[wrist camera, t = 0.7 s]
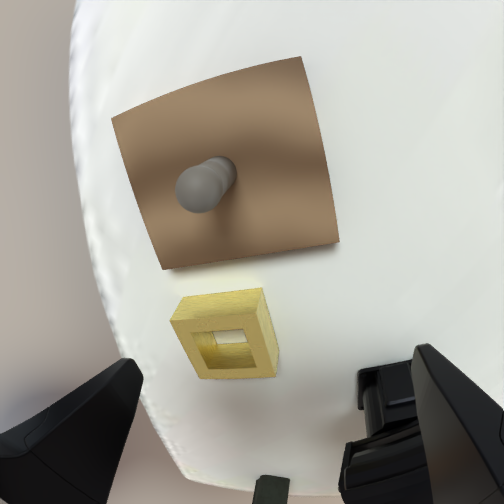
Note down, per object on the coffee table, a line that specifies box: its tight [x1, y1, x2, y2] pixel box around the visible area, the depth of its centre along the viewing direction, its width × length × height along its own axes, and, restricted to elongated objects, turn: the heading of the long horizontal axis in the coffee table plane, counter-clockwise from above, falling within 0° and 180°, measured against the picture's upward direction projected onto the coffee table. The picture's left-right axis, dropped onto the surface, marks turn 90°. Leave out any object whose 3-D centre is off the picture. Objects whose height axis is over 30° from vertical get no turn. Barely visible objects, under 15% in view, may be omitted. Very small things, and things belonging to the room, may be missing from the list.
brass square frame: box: [170, 288, 279, 379], centre depth 22 cm, size 6×6×3 cm
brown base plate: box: [111, 56, 340, 270], centre depth 15 cm, size 11×12×6 cm
